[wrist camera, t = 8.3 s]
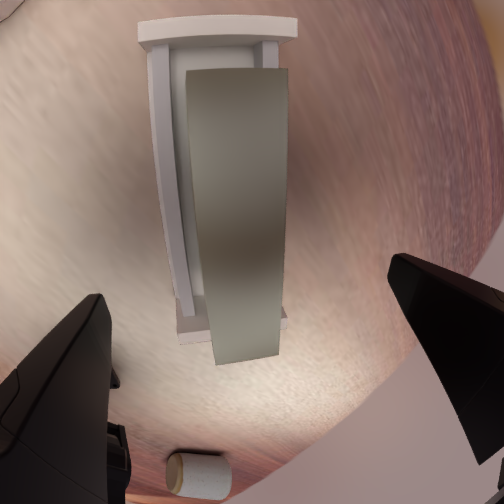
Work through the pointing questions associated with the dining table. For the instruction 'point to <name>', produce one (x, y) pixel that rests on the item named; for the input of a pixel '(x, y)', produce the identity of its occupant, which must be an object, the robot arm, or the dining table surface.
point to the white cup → (8, 7)
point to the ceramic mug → (198, 476)
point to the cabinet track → (176, 130)
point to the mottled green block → (240, 203)
